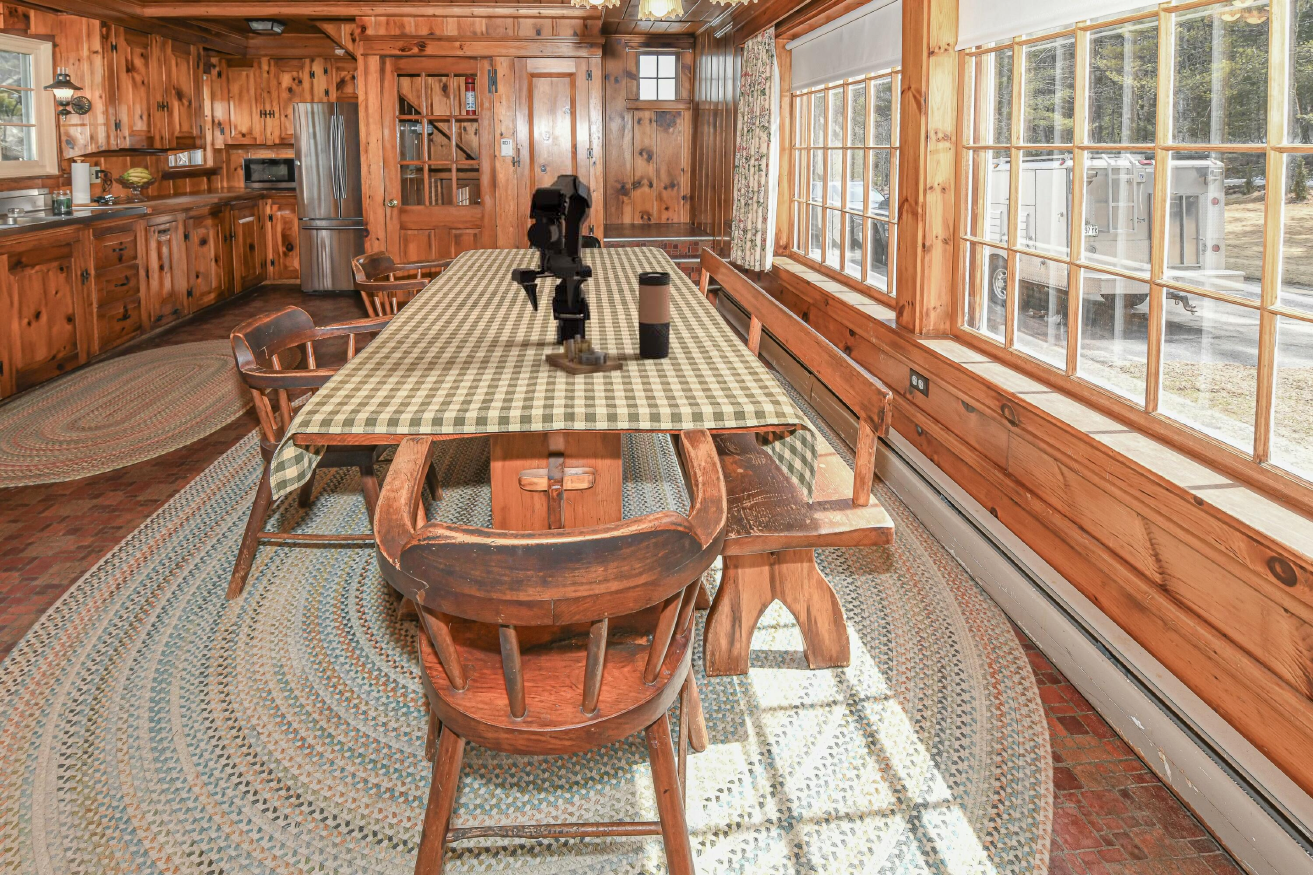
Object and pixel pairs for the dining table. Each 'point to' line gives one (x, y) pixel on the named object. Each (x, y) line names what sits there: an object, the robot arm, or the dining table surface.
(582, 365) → the gear board
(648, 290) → the travel mug
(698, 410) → the dining table surface
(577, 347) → the brass gear
